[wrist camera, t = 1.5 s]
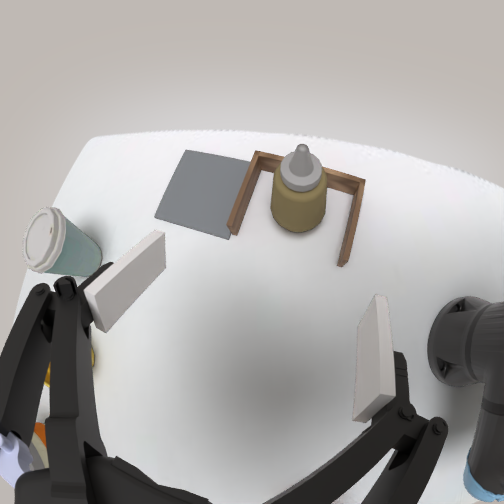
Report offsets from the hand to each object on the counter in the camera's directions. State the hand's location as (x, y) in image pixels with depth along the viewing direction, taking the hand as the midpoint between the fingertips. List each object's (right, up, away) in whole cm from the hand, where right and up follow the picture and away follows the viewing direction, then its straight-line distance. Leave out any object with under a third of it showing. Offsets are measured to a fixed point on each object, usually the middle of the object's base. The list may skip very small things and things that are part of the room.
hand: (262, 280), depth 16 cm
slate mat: (-9, +12, +30) cm, 33 cm away
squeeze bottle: (+7, +7, +27) cm, 29 cm away
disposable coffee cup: (-31, 0, +30) cm, 43 cm away
